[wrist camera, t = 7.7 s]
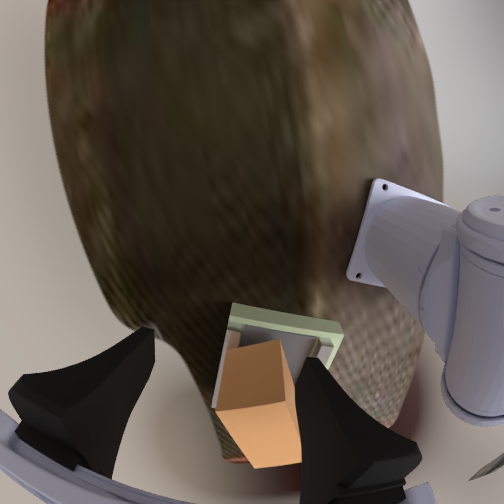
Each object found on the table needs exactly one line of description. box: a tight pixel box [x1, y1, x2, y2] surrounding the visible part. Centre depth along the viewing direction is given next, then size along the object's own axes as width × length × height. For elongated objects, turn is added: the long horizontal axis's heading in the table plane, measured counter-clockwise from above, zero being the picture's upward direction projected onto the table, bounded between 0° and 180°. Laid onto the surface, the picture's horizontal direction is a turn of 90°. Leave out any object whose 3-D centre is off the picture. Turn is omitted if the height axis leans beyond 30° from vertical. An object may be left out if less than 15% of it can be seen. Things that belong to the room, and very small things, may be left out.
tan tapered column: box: [215, 339, 302, 468], centre depth 17 cm, size 4×9×6 cm, turn 16°
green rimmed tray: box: [211, 302, 344, 408], centre depth 22 cm, size 9×10×3 cm
